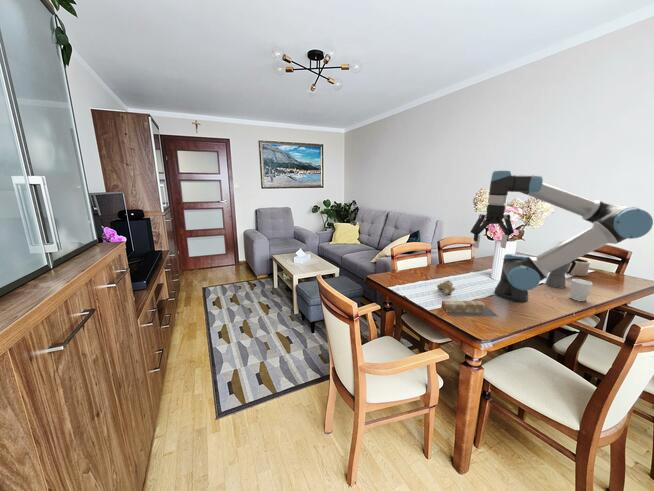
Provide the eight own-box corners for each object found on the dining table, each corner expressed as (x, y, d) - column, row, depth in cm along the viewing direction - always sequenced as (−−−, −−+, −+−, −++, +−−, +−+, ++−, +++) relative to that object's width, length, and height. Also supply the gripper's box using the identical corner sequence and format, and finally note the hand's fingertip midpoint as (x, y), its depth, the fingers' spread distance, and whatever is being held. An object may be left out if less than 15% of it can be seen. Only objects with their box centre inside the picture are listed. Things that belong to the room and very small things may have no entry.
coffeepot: (549, 287, 160) (555, 257, 155) (538, 281, 169) (543, 253, 165) (577, 288, 159) (584, 258, 155) (564, 282, 168) (570, 253, 164)
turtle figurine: (450, 279, 155) (456, 281, 143) (454, 291, 154) (459, 294, 143) (435, 282, 157) (439, 284, 145) (439, 294, 156) (443, 297, 144)
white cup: (573, 295, 150) (577, 277, 147) (591, 301, 142) (595, 283, 140) (564, 297, 147) (568, 279, 144) (581, 303, 140) (586, 285, 137)
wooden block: (479, 300, 132) (442, 300, 132) (484, 304, 128) (445, 304, 128) (478, 308, 133) (441, 308, 133) (483, 312, 129) (444, 312, 129)
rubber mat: (485, 306, 136) (485, 305, 136) (498, 317, 126) (498, 316, 125) (443, 305, 137) (443, 304, 137) (452, 316, 126) (452, 315, 126)
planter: (567, 270, 190) (570, 256, 188) (588, 274, 182) (591, 260, 180) (563, 273, 184) (566, 259, 181) (585, 278, 175) (588, 263, 173)
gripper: (516, 203, 134) (508, 245, 140) (466, 203, 133) (460, 245, 138) (527, 205, 127) (519, 249, 132) (475, 204, 126) (469, 249, 131)
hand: (489, 247), depth 135 cm, fingers open, 13 cm apart
